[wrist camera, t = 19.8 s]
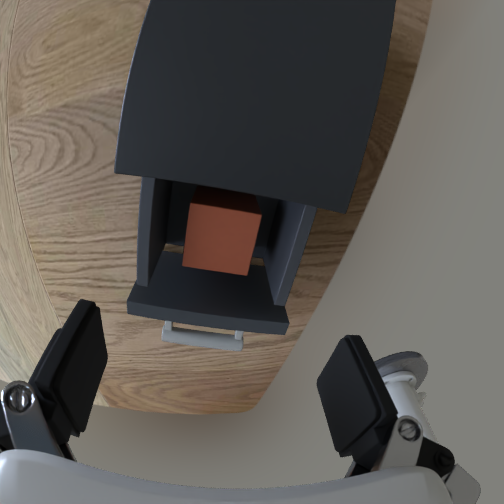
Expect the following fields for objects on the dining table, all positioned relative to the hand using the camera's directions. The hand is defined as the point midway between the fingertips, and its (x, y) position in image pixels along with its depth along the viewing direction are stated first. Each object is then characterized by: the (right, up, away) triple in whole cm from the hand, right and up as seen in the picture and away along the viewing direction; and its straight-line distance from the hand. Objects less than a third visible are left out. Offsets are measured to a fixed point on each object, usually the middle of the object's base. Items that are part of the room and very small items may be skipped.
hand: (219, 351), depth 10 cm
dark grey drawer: (-2, +6, +14) cm, 15 cm away
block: (-1, +6, +12) cm, 14 cm away
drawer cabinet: (+1, +18, +9) cm, 20 cm away
